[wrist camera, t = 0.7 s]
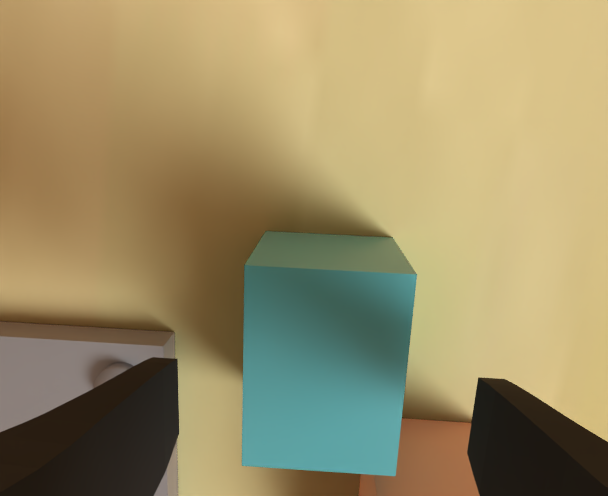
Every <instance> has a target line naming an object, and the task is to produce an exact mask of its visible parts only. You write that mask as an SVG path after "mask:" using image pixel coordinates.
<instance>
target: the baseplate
mask: <svg viewBox="0 0 608 496" xmlns="http://www.w3.org/2000/svg"><path fill="white" fill-rule="evenodd" d="M152 357H158V358H174V359H175V334H174V332H165V331H149V330H133V329H116V328H100V327H83V326H67V325H51V324H34V323H18V322H1V321H0V432H2V431H5V430H7V429H9V428H12V427H14V426H17V425H19V424H22V423H24V422H26V421H29V420H31V419H33V418H35V417H38V416H40V415H42V414H44V413H46V412H48V411H50V410H52V409H54V408H56V407H58V406H60V405H62V404H64V403H66V402H68V401H70V400H72V399H74V398H76V397H78V396H80V395H82V394H84V393H86V392H88V391H90V390H92V389H94V388H95V387H97V386H99V385H101V384H103V383H104V382H106V381H108V380H110V379H112V378H113V377H115V376H117V375H119V374H121V373H122V372H124V371H126V370H128V369H130V368H131V367H133V366H135V365H137V364H139V363H141V362H143V361H145V360H147V359H149V358H152ZM154 496H178V466H177V441H176V444H175V447H174V450H173V453H172V455H171V458H170V461H169V464H168V466H167V469H166V472H165V474H164V476H163V478H162V480H161V482H160V484H159V486H158V488H157V490H156V492H155V494H154Z"/></svg>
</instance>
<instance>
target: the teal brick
mask: <svg viewBox="0 0 608 496" xmlns="http://www.w3.org/2000/svg"><path fill="white" fill-rule="evenodd" d="M416 278H417V274H416V272H415V271H414V269H413V268H412V266H411V265H410V263H409V262H408V260H407V259H406V257H405V256H404V254H403V253H402V251H401V250H400V248H399V247H398V245H397V244H396V242H395V240H394V239H393V237H374V236H354V235H335V234H315V233H295V232H276V231H266V232H265V233H264V235H263V236H262V238H261V240H260V241H259V243H258V244H257V246H256V248H255V249H254V251H253V252H252V254H251V256H250V257H249V259H248V260H247V262H246V264H245V265H244V339H243V419H242V466H253V467H267V468H282V469H296V470H311V471H325V472H340V473H355V474H369V475H384V476H396V468H397V458H398V449H399V439H400V430H401V420H402V411H403V401H404V392H405V382H406V373H407V363H408V354H409V345H410V335H411V326H412V316H413V307H414V297H415V288H416Z"/></svg>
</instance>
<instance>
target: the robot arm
mask: <svg viewBox="0 0 608 496" xmlns="http://www.w3.org/2000/svg"><path fill="white" fill-rule="evenodd" d="M178 435H179V410H178V367H177V359H174V358H158V357H152V358H149V359H147V360H145V361H143V362H141V363H139V364H137V365H135V366H133V367H131V368H130V369H128V370H126V371H124V372H122V373H121V374H119V375H117V376H115V377H113V378H112V379H110V380H108V381H106V382H104V383H103V384H101V385H99V386H97V387H95V388H94V389H92V390H90V391H88V392H86V393H84V394H82V395H80V396H78V397H76V398H74V399H72V400H70V401H68V402H66V403H64V404H62V405H60V406H58V407H56V408H54V409H52V410H50V411H48V412H46V413H44V414H42V415H40V416H38V417H35V418H33V419H31V420H29V421H26V422H24V423H22V424H19V425H17V426H14V427H12V428H9V429H7V430H5V431H2V432H0V496H154V494H155V492H156V490H157V488H158V486H159V484H160V482H161V480H162V478H163V476H164V474H165V472H166V469H167V466H168V464H169V461H170V458H171V455H172V453H173V450H174V447H175V444H176V441H177V438H178ZM467 454H468V458H469V461H470V465H471V469H472V472H473V476H474V479H475V482H476V485H477V489H478V492H479V495H480V496H608V442H607V441H605V440H603V439H602V438H600V437H598V436H597V435H595V434H593V433H592V432H590V431H588V430H587V429H585V428H583V427H582V426H580V425H579V424H577V423H575V422H574V421H572V420H571V419H569V418H567V417H566V416H564V415H563V414H561V413H560V412H558V411H556V410H555V409H553V408H552V407H550V406H549V405H547V404H546V403H544V402H542V401H541V400H539V399H538V398H536V397H535V396H533V395H531V394H530V393H528V392H527V391H525V390H523V389H522V388H520V387H518V386H517V385H515V384H513V383H511V382H509V381H507V380H505V379H493V378H478V384H477V390H476V397H475V403H474V410H473V417H472V423H471V430H470V436H469V443H468V450H467Z"/></svg>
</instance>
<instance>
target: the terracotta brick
mask: <svg viewBox="0 0 608 496" xmlns="http://www.w3.org/2000/svg"><path fill="white" fill-rule="evenodd" d="M470 430H471V423H467V422H451V421H436V420H420V419H405V418H402V420H401V430H400V439H399V449H398V458H397V468H396V476H384V475H369V474H360V486H359V496H480V495H479V492H478V489H477V485H476V482H475V479H474V476H473V472H472V469H471V465H470V461H469V458H468V454H467V450H468V443H469V436H470Z"/></svg>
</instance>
